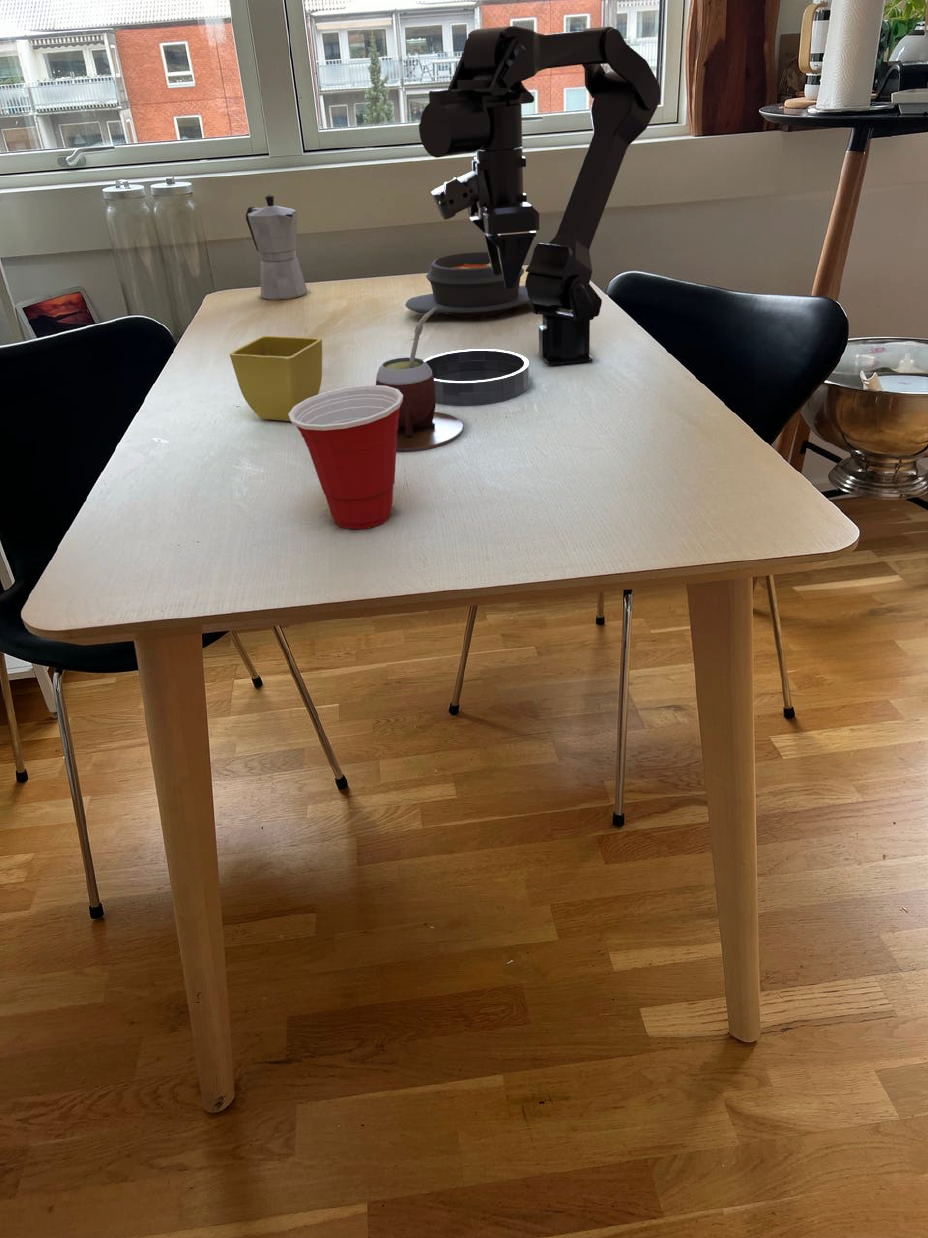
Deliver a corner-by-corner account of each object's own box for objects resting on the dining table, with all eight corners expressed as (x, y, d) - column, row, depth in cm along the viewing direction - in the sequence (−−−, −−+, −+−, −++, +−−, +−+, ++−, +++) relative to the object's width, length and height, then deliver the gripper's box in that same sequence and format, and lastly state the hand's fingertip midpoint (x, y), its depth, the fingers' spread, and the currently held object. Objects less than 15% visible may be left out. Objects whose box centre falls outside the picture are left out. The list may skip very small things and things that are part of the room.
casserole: (531, 291, 173) (530, 244, 169) (560, 314, 158) (560, 262, 153) (398, 306, 170) (394, 257, 165) (415, 330, 154) (411, 277, 150)
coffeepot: (323, 293, 182) (310, 193, 173) (283, 303, 177) (268, 200, 168) (278, 284, 192) (263, 189, 183) (239, 293, 187) (222, 196, 177)
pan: (517, 366, 134) (517, 345, 132) (539, 398, 121) (539, 375, 119) (412, 376, 132) (410, 355, 131) (423, 410, 120) (421, 387, 118)
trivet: (455, 409, 119) (455, 406, 119) (470, 445, 108) (470, 442, 108) (354, 419, 118) (353, 416, 118) (358, 456, 107) (357, 453, 107)
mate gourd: (381, 421, 116) (367, 296, 108) (444, 416, 116) (435, 291, 108) (379, 442, 109) (364, 311, 101) (446, 438, 109) (437, 306, 102)
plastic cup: (308, 500, 97) (291, 387, 91) (412, 491, 98) (401, 378, 92) (302, 546, 88) (281, 424, 82) (416, 536, 88) (404, 414, 82)
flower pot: (332, 405, 123) (323, 337, 119) (302, 428, 116) (290, 356, 112) (274, 402, 126) (262, 335, 121) (240, 424, 119) (227, 353, 114)
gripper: (425, 147, 121) (434, 272, 129) (442, 160, 105) (451, 302, 113) (510, 140, 122) (513, 265, 130) (539, 152, 106) (541, 294, 114)
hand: (503, 281), depth 122 cm, fingers open, 9 cm apart
